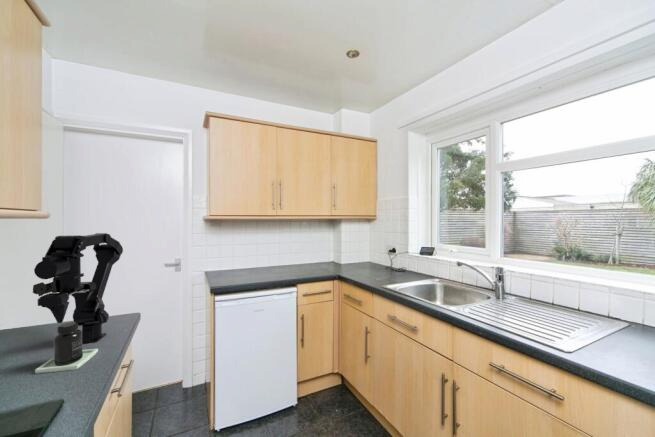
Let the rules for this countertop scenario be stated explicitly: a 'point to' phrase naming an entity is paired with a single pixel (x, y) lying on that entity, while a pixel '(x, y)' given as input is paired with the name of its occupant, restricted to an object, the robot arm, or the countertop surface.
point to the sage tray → (51, 366)
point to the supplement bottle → (68, 344)
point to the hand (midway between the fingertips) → (69, 317)
